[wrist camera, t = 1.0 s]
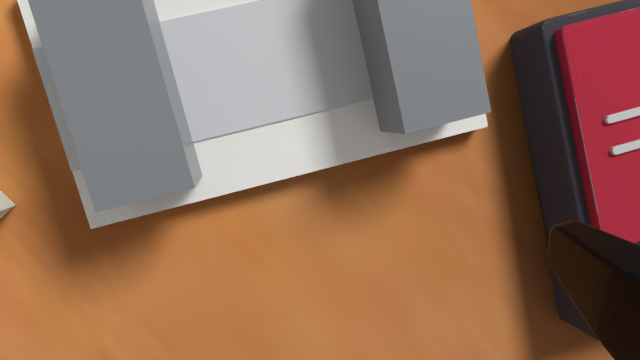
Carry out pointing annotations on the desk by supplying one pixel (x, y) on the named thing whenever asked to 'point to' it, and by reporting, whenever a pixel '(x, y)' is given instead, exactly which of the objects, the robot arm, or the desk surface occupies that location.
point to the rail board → (245, 90)
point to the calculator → (584, 122)
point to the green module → (5, 204)
